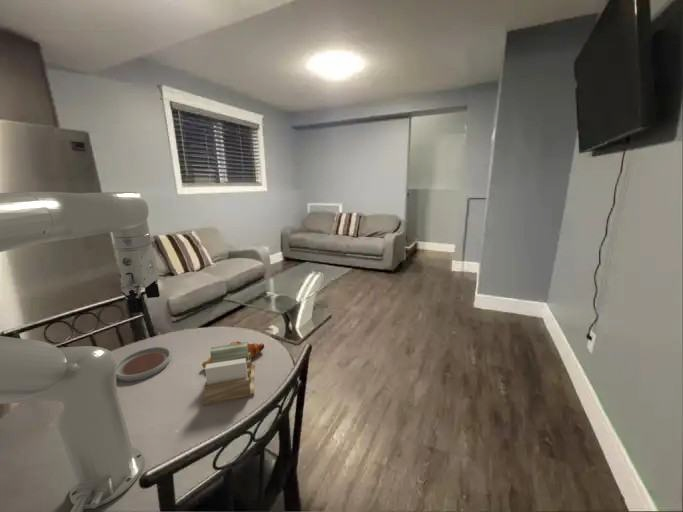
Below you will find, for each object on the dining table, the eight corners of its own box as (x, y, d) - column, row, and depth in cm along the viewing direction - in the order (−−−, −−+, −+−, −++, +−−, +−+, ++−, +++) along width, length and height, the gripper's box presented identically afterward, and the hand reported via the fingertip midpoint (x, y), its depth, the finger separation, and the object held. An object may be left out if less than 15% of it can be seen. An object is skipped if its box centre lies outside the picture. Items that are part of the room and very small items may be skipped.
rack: (254, 395, 85) (250, 365, 82) (203, 405, 82) (198, 374, 79) (254, 364, 99) (252, 338, 96) (211, 372, 95) (207, 344, 93)
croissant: (205, 383, 96) (203, 372, 91) (200, 357, 102) (198, 345, 96) (267, 361, 106) (268, 349, 101) (259, 339, 112) (260, 327, 107)
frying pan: (69, 372, 93) (167, 340, 110) (72, 379, 94) (168, 346, 111) (64, 402, 81) (175, 361, 97) (67, 410, 81) (177, 368, 98)
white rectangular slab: (248, 389, 86) (245, 362, 84) (209, 396, 83) (204, 368, 81) (248, 384, 88) (245, 358, 86) (210, 391, 86) (206, 364, 83)
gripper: (133, 248, 65) (147, 317, 69) (162, 235, 81) (172, 291, 85) (95, 250, 63) (112, 320, 68) (133, 236, 80) (144, 293, 84)
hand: (146, 304), depth 76 cm, fingers open, 9 cm apart
